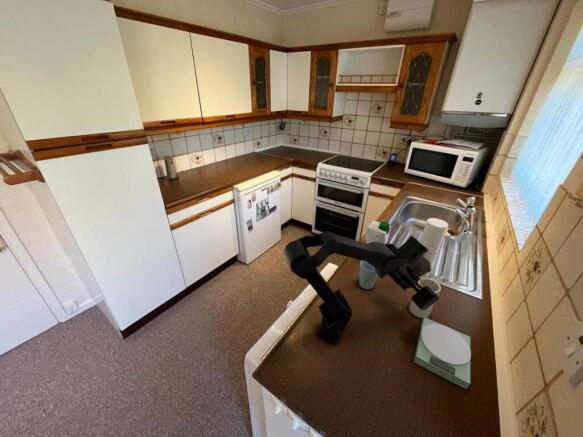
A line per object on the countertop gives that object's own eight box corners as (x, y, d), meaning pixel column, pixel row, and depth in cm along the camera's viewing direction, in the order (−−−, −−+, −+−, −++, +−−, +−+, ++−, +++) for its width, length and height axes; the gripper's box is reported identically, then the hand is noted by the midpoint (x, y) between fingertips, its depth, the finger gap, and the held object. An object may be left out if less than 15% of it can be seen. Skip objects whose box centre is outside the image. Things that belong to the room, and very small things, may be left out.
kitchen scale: (466, 389, 63) (471, 382, 61) (413, 362, 69) (416, 355, 68) (466, 342, 75) (471, 335, 73) (421, 322, 81) (424, 315, 79)
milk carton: (377, 268, 105) (386, 230, 95) (358, 260, 110) (365, 222, 100) (384, 259, 111) (394, 221, 101) (366, 251, 116) (373, 215, 106)
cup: (378, 291, 93) (383, 271, 88) (358, 291, 93) (362, 270, 88) (373, 278, 99) (377, 258, 94) (354, 277, 100) (358, 257, 95)
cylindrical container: (430, 279, 99) (451, 228, 87) (412, 276, 100) (430, 226, 88) (426, 268, 105) (444, 219, 93) (408, 266, 106) (424, 217, 94)
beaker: (428, 321, 81) (439, 295, 75) (407, 312, 84) (416, 286, 78) (430, 308, 86) (441, 282, 80) (410, 300, 89) (419, 275, 83)
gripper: (444, 274, 62) (462, 296, 70) (398, 236, 78) (418, 257, 86) (411, 301, 64) (432, 319, 72) (373, 258, 80) (394, 277, 88)
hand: (418, 290), depth 79 cm, fingers open, 9 cm apart
